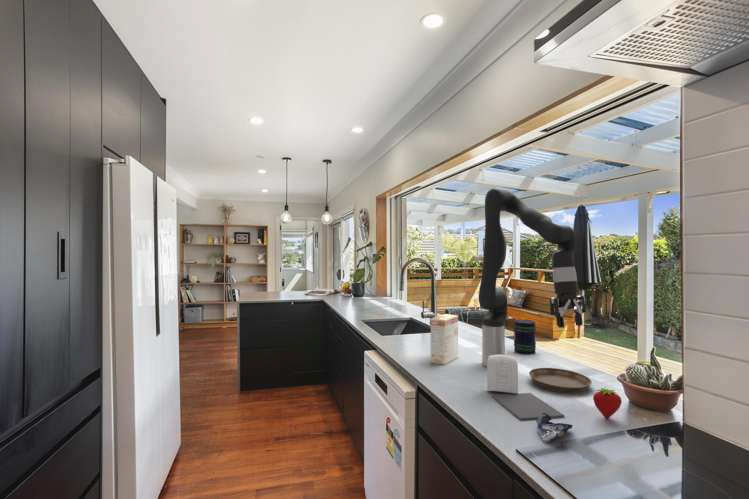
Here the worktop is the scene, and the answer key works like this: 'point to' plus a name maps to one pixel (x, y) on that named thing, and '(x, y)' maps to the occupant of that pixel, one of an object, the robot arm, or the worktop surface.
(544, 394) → the worktop surface
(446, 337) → the coffeecake box
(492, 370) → the photo printer
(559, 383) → the plant saucer
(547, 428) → the snack package
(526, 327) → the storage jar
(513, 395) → the mat
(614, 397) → the strawberry
